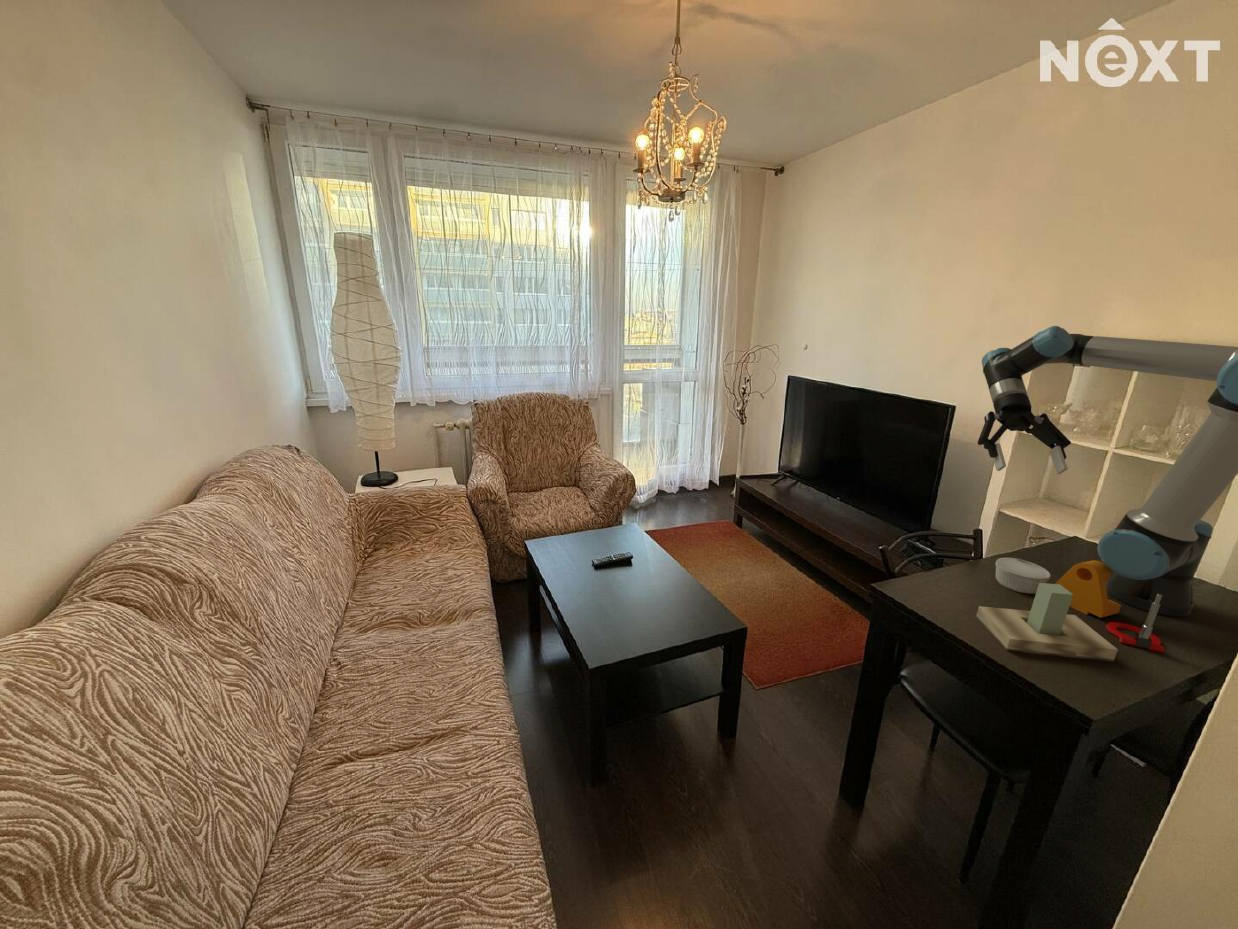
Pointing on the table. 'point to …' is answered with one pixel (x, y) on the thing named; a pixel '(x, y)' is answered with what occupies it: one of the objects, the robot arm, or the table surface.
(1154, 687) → the table surface
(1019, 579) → the ramekin
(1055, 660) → the table surface
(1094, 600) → the bracket
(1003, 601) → the table surface
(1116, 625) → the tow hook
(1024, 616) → the block with square hole
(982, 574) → the table surface
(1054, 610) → the peg
